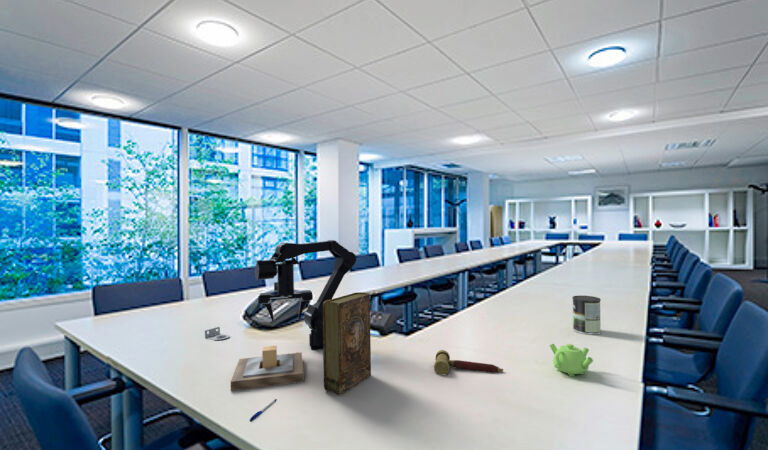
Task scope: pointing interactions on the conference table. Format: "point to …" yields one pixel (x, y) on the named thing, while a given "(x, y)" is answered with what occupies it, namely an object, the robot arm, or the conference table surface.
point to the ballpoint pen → (261, 411)
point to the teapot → (571, 359)
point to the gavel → (460, 364)
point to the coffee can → (586, 315)
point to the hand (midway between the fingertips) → (286, 320)
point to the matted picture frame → (267, 372)
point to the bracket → (214, 332)
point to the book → (346, 342)
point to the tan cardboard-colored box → (269, 356)
